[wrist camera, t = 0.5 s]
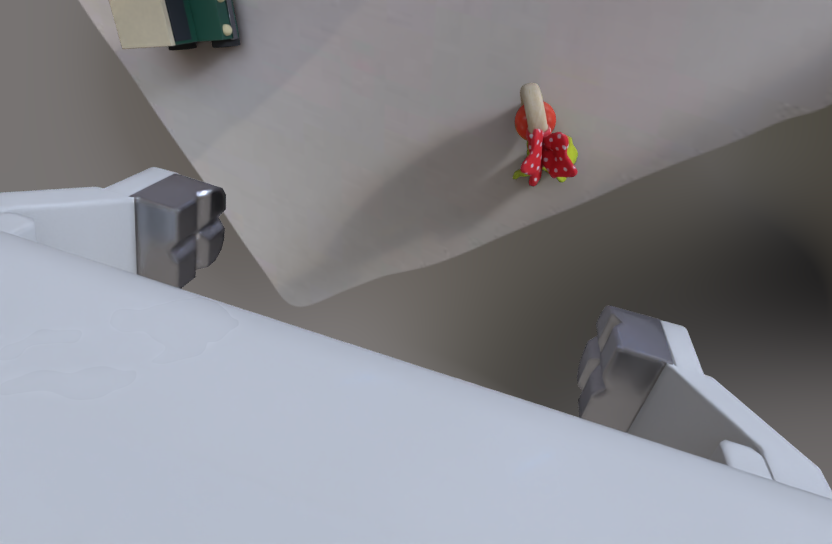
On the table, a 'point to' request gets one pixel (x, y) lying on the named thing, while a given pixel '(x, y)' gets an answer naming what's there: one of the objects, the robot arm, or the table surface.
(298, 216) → the table surface
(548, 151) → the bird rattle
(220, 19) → the toy jeep
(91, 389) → the robot arm
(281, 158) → the table surface
